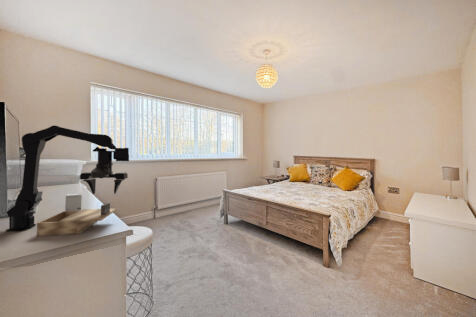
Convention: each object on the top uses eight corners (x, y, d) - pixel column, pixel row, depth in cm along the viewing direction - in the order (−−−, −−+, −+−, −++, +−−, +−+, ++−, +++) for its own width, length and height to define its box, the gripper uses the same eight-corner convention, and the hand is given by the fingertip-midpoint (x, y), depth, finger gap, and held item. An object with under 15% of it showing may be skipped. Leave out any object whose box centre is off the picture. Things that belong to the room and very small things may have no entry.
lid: (59, 222, 80) (60, 210, 80) (82, 210, 96) (83, 200, 96) (101, 220, 82) (101, 209, 82) (116, 209, 99) (117, 200, 98)
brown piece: (36, 236, 78) (36, 223, 78) (63, 222, 94) (63, 211, 94) (78, 234, 81) (78, 221, 81) (97, 221, 97) (97, 210, 97)
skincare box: (64, 221, 95) (64, 195, 95) (66, 219, 99) (66, 194, 98) (81, 219, 98) (81, 194, 98) (82, 217, 102) (82, 192, 102)
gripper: (72, 161, 89) (72, 197, 89) (120, 162, 93) (119, 196, 93) (86, 160, 100) (86, 192, 100) (128, 161, 104) (127, 192, 104)
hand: (104, 193), depth 99 cm, fingers open, 9 cm apart
